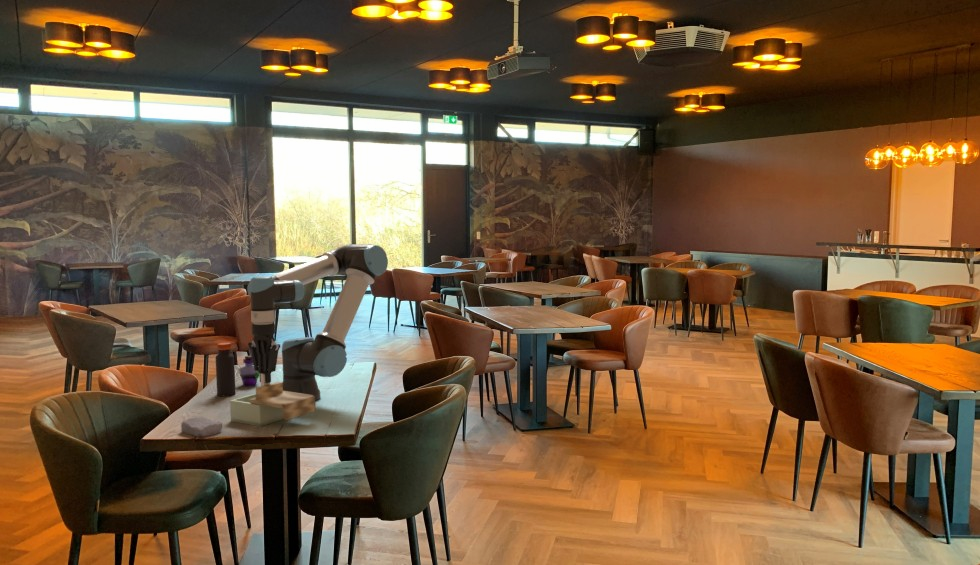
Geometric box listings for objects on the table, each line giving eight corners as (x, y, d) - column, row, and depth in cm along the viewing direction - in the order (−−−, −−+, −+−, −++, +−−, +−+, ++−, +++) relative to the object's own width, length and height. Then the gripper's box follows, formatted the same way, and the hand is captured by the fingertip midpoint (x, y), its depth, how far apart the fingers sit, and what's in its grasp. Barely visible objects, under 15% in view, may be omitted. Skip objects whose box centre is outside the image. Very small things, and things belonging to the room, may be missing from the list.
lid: (281, 404, 248) (280, 380, 247) (316, 410, 240) (315, 385, 239) (249, 414, 236) (248, 388, 235) (285, 420, 228) (284, 394, 227)
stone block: (206, 430, 236) (177, 432, 228) (208, 416, 236) (180, 416, 228) (226, 438, 229) (197, 440, 221) (228, 423, 229) (200, 424, 221)
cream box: (263, 411, 252) (262, 391, 252) (291, 416, 246) (291, 396, 245) (230, 420, 240) (230, 400, 240) (260, 426, 233) (259, 405, 233)
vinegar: (218, 393, 280) (216, 342, 279) (236, 391, 282) (234, 341, 280) (216, 397, 274) (213, 345, 272) (234, 395, 275) (232, 344, 274)
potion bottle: (258, 386, 291) (257, 357, 290) (236, 387, 289) (235, 358, 288) (262, 382, 299) (261, 353, 298) (240, 382, 298) (239, 354, 297)
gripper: (240, 323, 239) (243, 392, 241) (268, 325, 232) (271, 396, 234) (258, 320, 245) (260, 387, 247) (285, 322, 239) (288, 391, 241)
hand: (265, 392), depth 241 cm, fingers closed
